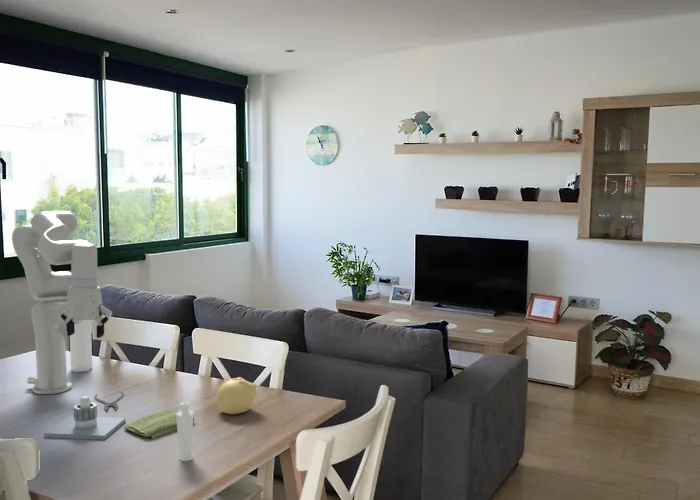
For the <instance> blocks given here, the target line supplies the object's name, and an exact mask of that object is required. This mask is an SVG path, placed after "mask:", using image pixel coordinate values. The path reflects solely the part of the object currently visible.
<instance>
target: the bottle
mask: <svg viewBox="0 0 700 500" xmlns="http://www.w3.org/2000/svg"><path fill="white" fill-rule="evenodd" d="M91 321H92V320H84V321H83V322H81V323H79V324H75V325H74V328H75V333H74V334H72V335H70V336H69V348H70V349H69V350H70V351H69V352H70V353H69V355H70V356H69V357H70V363H69V364H70V371H71V372H74V373H83V372H89V371H91V370H92V369H93V349H92V347H93V346H92V322H91Z"/></svg>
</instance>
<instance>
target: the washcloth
mask: <svg viewBox="0 0 700 500" xmlns="http://www.w3.org/2000/svg"><path fill="white" fill-rule="evenodd" d="M178 412H179V411H178V410H176V409H174V408H171V407H167V408H164V409H162V410H160V411H158V412H154V413H151V414H148V415H147V416H143V417H142V418H141V417H140V418H138V419H135V420H132V421H129V422H127V424H126V425H125V426H124V428H123V429H124V430H126V431H129V432H132V433H134V434H136V435H138V436H139V435H140V436H143V437H145V438H149V439H152V440H154V439H156V438H159V437H161V436H164V435H167V434H170V433H172V432H174V431H177V421H176V413H178ZM194 421H195V417H194V416H193V423H194Z"/></svg>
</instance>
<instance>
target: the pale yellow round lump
mask: <svg viewBox="0 0 700 500" xmlns="http://www.w3.org/2000/svg"><path fill="white" fill-rule="evenodd" d="M256 390H257V385H256V384H255V383H254V382H250V381H248V380H246V379H245V378H243V377H241V376H238V377H236V378H235V377H233V378H227V379H224V380H223V383H222V384H221V385H220V386H219V388H218V390H217V393H216V404H217V407H218V408H219V410H220V411H221V412H222V413H224V414H227V415H237V414H242V413H245V412H247V411H249V410H250V408H251V407H252V406H253V403H254V399H255V398H256V395H257V392H256Z"/></svg>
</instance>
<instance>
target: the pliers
mask: <svg viewBox="0 0 700 500" xmlns="http://www.w3.org/2000/svg"><path fill="white" fill-rule="evenodd" d="M120 394H121V396H120V397H118V398H116V399H115V400H113V401H112V402H107V401H105V400H102V399H99V398H98V393H95V394H94V396H93V397H94V400H95V401H97V402H99V403H102V404H103V405H104V406H103V410H104V411H105V412H106V413H108V412H109V409H110V408H113V410H114V412H117V411H118V410H119V409H118V408H119V406H118V405H117V403H118V402H119V401H120V400H121V399H123V398H124V397H125V396H124V395H125V393H124V392H123V391H120Z"/></svg>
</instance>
